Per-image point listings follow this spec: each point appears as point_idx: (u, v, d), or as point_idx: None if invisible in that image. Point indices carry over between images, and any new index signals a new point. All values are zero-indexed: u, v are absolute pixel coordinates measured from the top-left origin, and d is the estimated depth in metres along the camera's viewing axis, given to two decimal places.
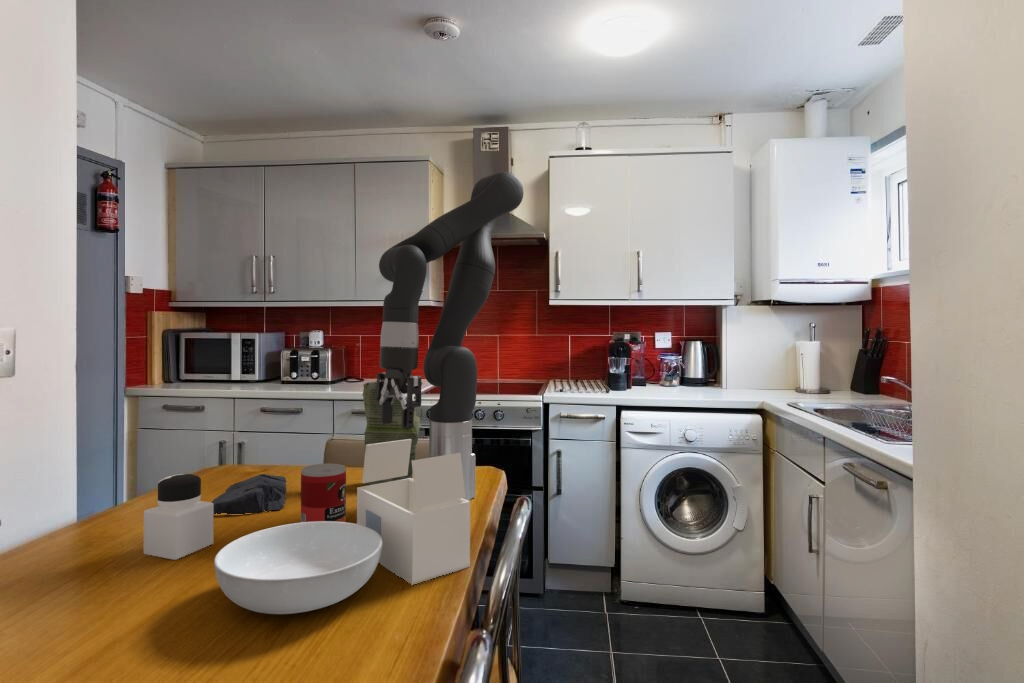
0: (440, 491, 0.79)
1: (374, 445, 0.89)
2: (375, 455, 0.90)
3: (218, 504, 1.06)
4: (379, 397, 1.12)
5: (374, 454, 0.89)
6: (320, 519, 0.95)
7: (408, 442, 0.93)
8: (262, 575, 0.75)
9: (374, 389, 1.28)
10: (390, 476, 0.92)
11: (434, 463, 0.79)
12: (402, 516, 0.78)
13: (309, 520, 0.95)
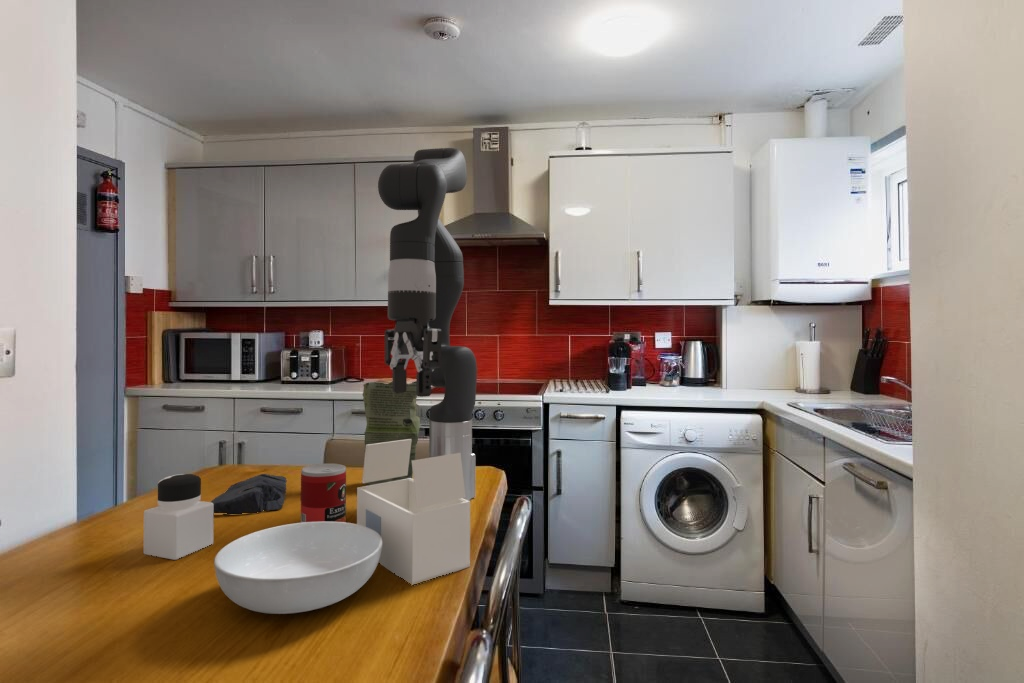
0: (440, 491, 0.79)
1: (374, 445, 0.89)
2: (375, 455, 0.90)
3: (217, 504, 1.07)
4: (389, 360, 0.89)
5: (374, 454, 0.89)
6: (320, 519, 0.95)
7: (408, 442, 0.93)
8: (262, 575, 0.75)
9: (374, 389, 1.28)
10: (390, 476, 0.92)
11: (434, 463, 0.79)
12: (402, 516, 0.78)
13: (309, 520, 0.95)
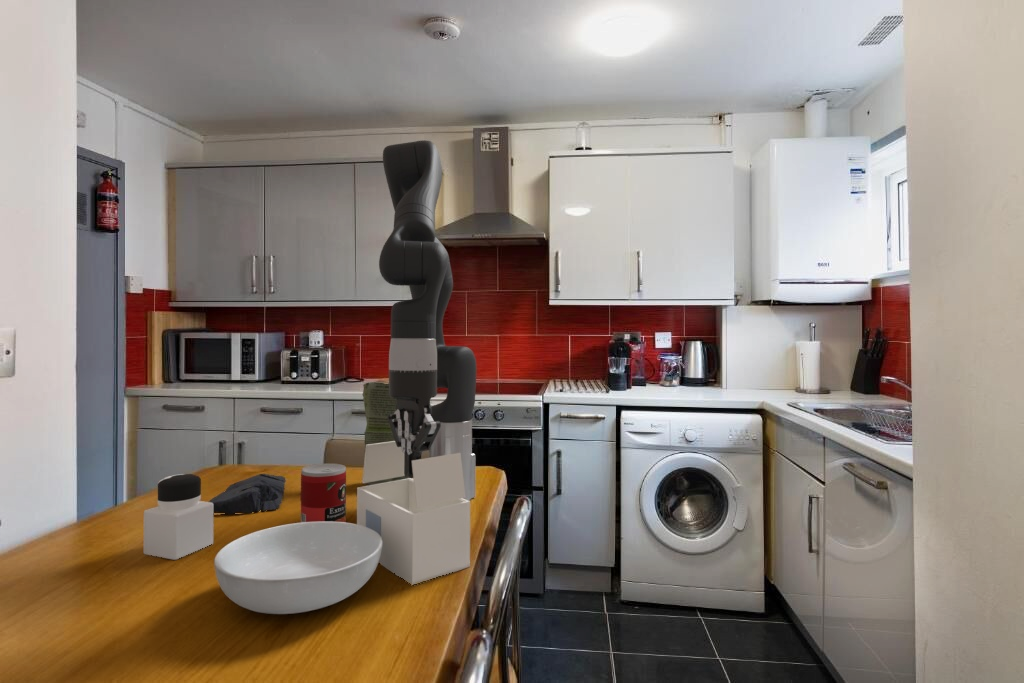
0: (440, 491, 0.79)
1: (374, 445, 0.89)
2: (375, 455, 0.90)
3: (214, 503, 1.07)
4: (400, 440, 0.86)
5: (374, 454, 0.89)
6: (320, 519, 0.95)
7: None
8: (262, 575, 0.75)
9: (374, 389, 1.28)
10: (390, 476, 0.92)
11: (434, 463, 0.79)
12: (402, 516, 0.78)
13: (309, 520, 0.95)
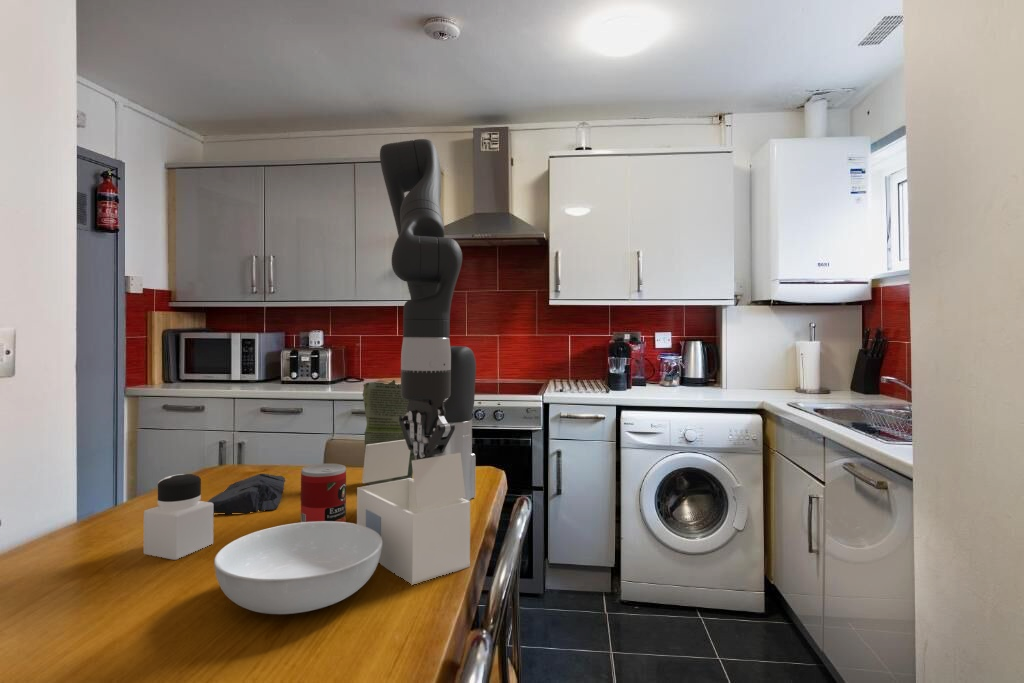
0: (440, 491, 0.79)
1: (374, 445, 0.89)
2: (375, 455, 0.90)
3: (213, 503, 1.07)
4: (412, 442, 0.83)
5: (374, 454, 0.89)
6: (320, 519, 0.95)
7: None
8: (262, 575, 0.75)
9: (374, 389, 1.28)
10: (390, 476, 0.92)
11: (434, 463, 0.79)
12: (402, 516, 0.78)
13: (309, 520, 0.95)
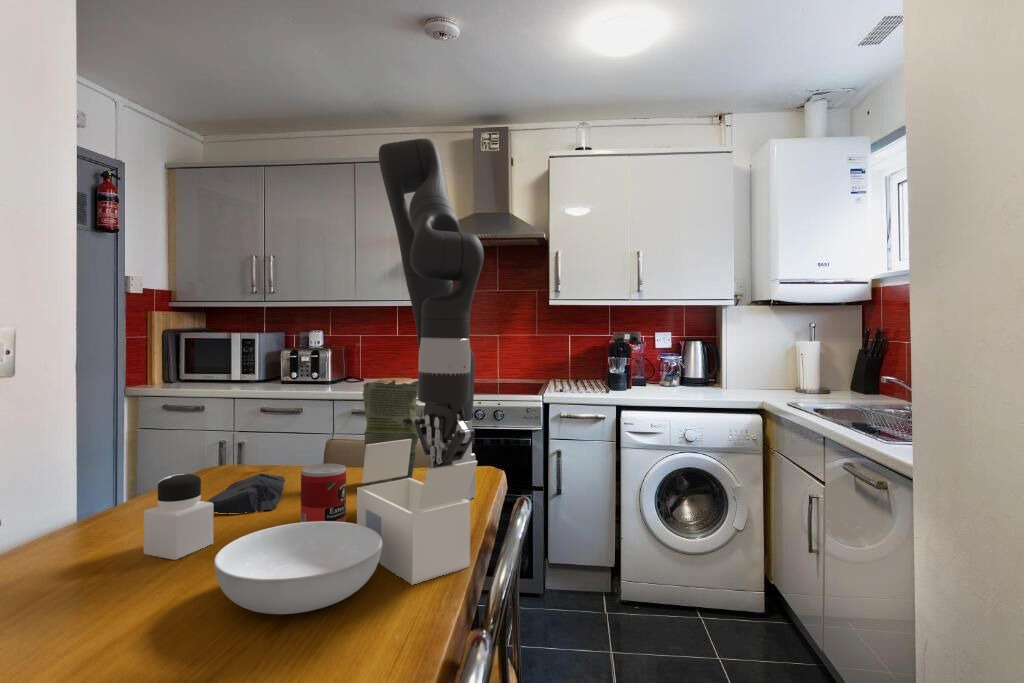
0: (445, 494, 0.78)
1: (374, 445, 0.89)
2: (375, 455, 0.90)
3: None
4: (428, 447, 0.79)
5: (374, 454, 0.89)
6: (320, 519, 0.95)
7: (408, 442, 0.93)
8: (262, 575, 0.75)
9: (374, 389, 1.28)
10: (390, 476, 0.92)
11: (448, 472, 0.76)
12: (402, 516, 0.78)
13: (309, 520, 0.95)
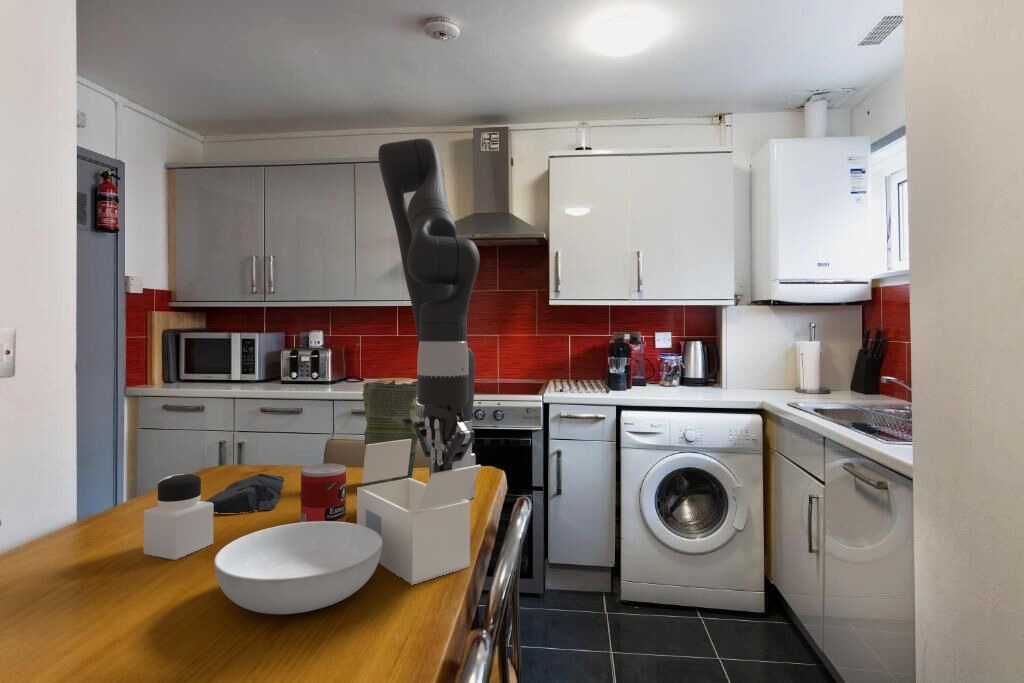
0: (446, 496, 0.78)
1: (374, 445, 0.89)
2: (375, 455, 0.90)
3: None
4: (429, 449, 0.81)
5: (374, 454, 0.89)
6: (320, 519, 0.95)
7: (408, 442, 0.93)
8: (262, 575, 0.75)
9: (374, 389, 1.28)
10: (390, 476, 0.92)
11: (451, 476, 0.76)
12: (402, 516, 0.78)
13: (309, 520, 0.95)
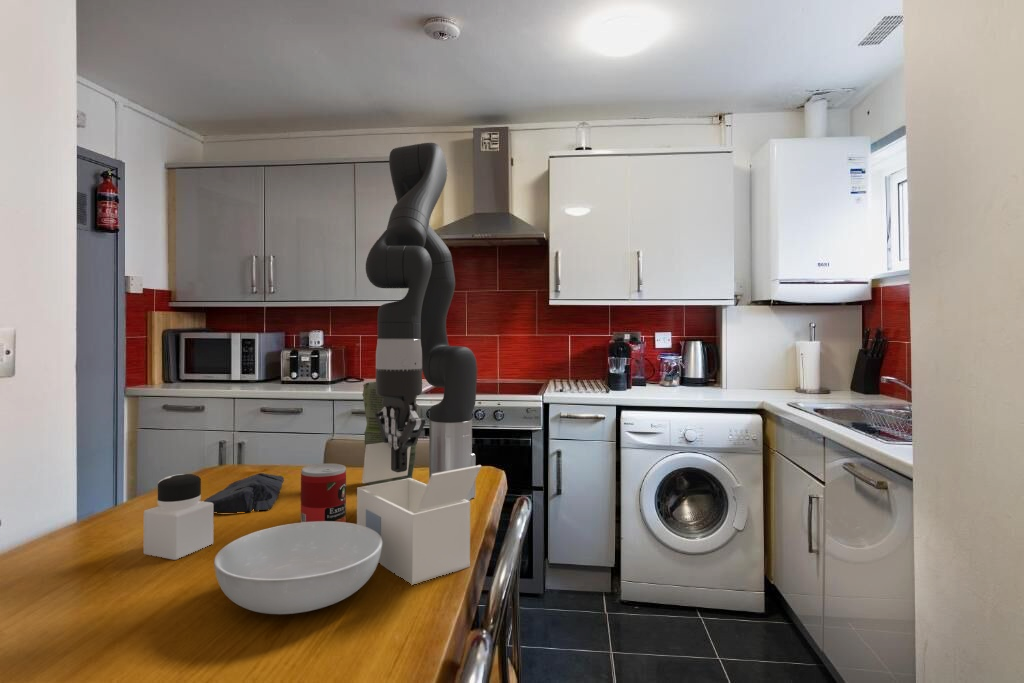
0: (446, 496, 0.78)
1: (374, 445, 0.89)
2: (375, 455, 0.90)
3: None
4: (387, 436, 0.90)
5: (373, 454, 0.89)
6: (320, 519, 0.95)
7: None
8: (262, 575, 0.75)
9: (374, 389, 1.28)
10: (390, 476, 0.92)
11: (452, 476, 0.76)
12: (402, 516, 0.78)
13: (309, 520, 0.95)
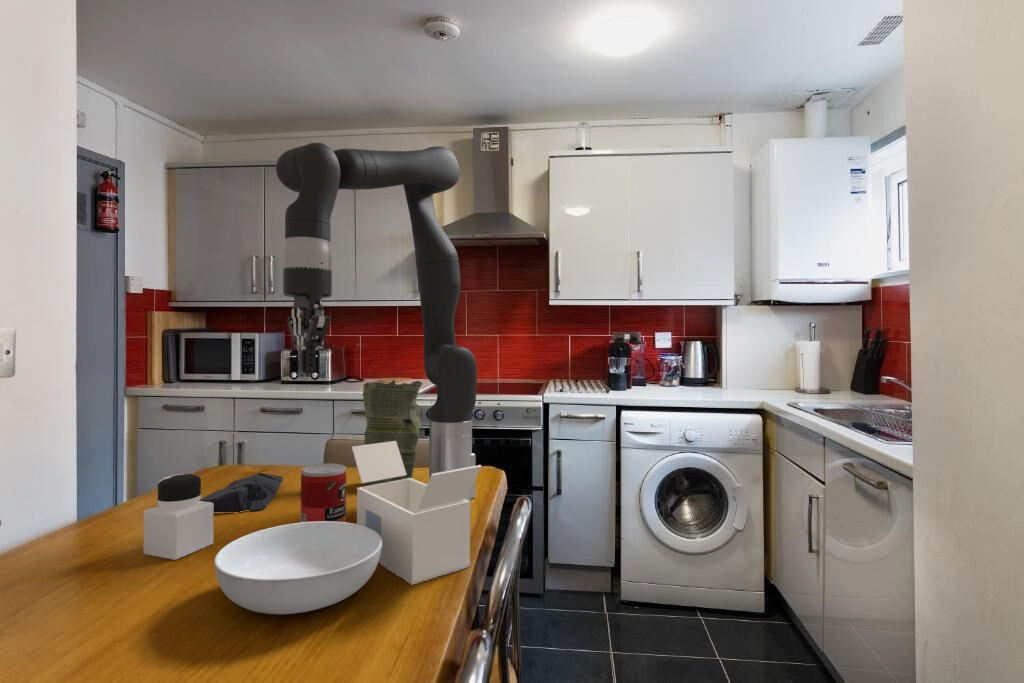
0: (446, 496, 0.78)
1: (360, 446, 0.93)
2: (364, 455, 0.93)
3: None
4: (296, 339, 0.90)
5: (362, 454, 0.93)
6: (320, 519, 0.95)
7: (394, 443, 0.97)
8: (262, 575, 0.75)
9: (374, 389, 1.28)
10: (388, 475, 0.93)
11: (452, 476, 0.76)
12: (402, 516, 0.78)
13: (309, 520, 0.95)
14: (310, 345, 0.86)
